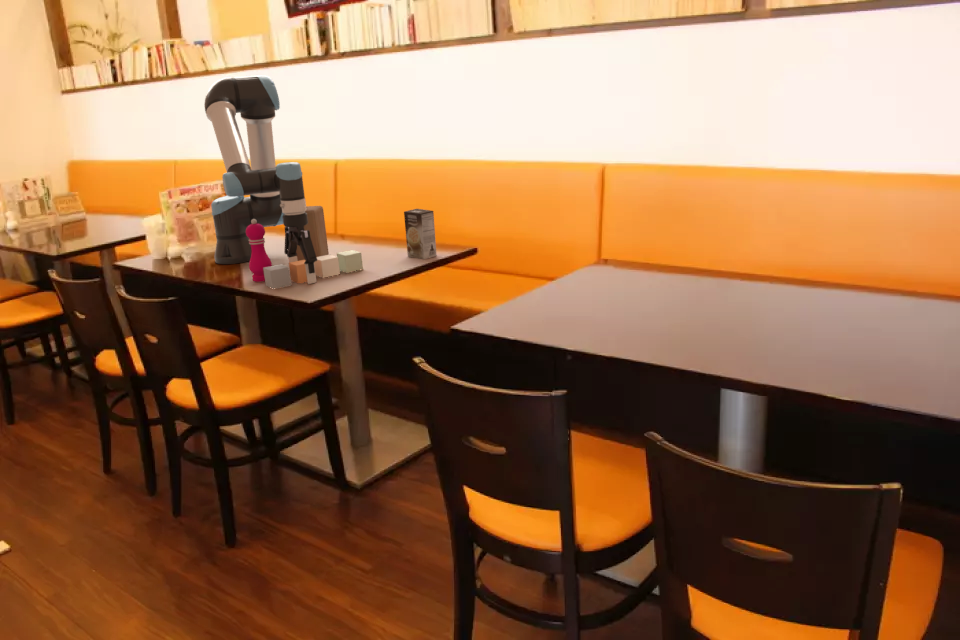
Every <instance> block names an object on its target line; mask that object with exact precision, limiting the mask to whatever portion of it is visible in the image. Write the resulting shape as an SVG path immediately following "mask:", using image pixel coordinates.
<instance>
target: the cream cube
mask: <svg viewBox="0 0 960 640" xmlns="http://www.w3.org/2000/svg"><path fill="white" fill-rule="evenodd" d="M314 266H315V274H316V275H317V276H316V277H318V276H320V277H319V278H321V277H323V278H322V279H325V278H324V277H328V276H332V277H334V276H333V275H337V276H339V275H338V274H340V275H341V271H340V269H339V261H338V257H337V255H333V254H329V255H325V256H320V257H317V261H315V262H314ZM328 278H329V277H328Z"/></svg>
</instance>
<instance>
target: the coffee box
mask: <svg viewBox="0 0 960 640" xmlns="http://www.w3.org/2000/svg"><path fill="white" fill-rule="evenodd" d="M434 213H435V212H434V210H429V209H421V208H414V209H409V210H406V211H403V215H404V218H403V219H404V229H405V241H406V249H407V250H406V252H407V253H406V254H407V257H410V258H416V259H419V260H420V259H421V260H427V259H430V258H433V257H437V244H436V229H435V227H436V226H435V217H434V216H435V214H434Z"/></svg>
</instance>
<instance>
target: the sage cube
mask: <svg viewBox="0 0 960 640" xmlns="http://www.w3.org/2000/svg"><path fill="white" fill-rule="evenodd" d="M336 257H338V261H339V269H340V270H341V271H340V272H342V271H344V272H343V273H345V272H347V273H346V274H349V273H348V272H351V271H355V272H357V271H356V270H360V269H363V270H364V265H363V257H362V252H361V251H357V250H354V249H351V250H346V251H341V252H336ZM360 271H361V270H360ZM351 273H352V272H351Z"/></svg>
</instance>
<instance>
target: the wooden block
mask: <svg viewBox="0 0 960 640" xmlns="http://www.w3.org/2000/svg"><path fill="white" fill-rule="evenodd" d="M306 208H307V210H306V211H305V212H306V213H307V218H308V224H307V225H304V229H305V231H307V230H309V231H310V237H311V241H312V244H313V247H314V251H315V254H316V257H320V256H325V255H330V254H329V245H328V237H327V228H326V223H325V222H326V221H325V212H324V207H323V206H321V205H306ZM296 253H297V255H296V256H297V260H298V261H300V260H305V258H304V256H303V253H302V251H301V249H300V246H299V245H297V250H296Z"/></svg>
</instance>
